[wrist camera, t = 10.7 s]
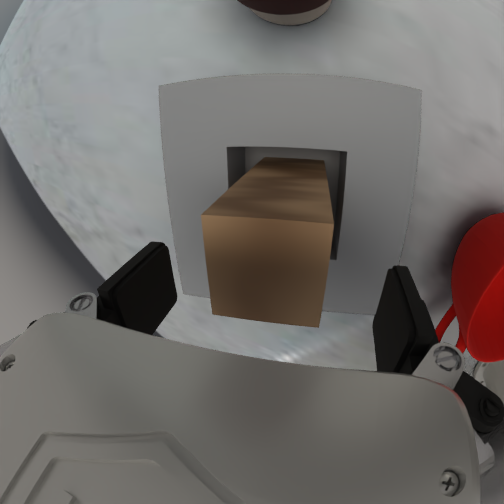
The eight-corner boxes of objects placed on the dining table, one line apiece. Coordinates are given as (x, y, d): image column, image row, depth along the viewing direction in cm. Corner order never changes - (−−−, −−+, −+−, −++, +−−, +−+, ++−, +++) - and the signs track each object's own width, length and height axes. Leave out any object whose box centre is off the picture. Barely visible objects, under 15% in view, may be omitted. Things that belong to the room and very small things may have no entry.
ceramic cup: (382, 284, 26) (399, 358, 18) (487, 164, 18) (552, 198, 9) (442, 335, 27) (462, 398, 19) (532, 242, 19) (577, 290, 10)
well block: (398, 94, 18) (421, 89, 13) (374, 280, 26) (383, 315, 21) (189, 89, 21) (158, 85, 16) (204, 264, 30) (183, 294, 25)
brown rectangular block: (323, 160, 22) (333, 224, 10) (320, 215, 24) (318, 327, 12) (264, 157, 23) (200, 214, 11) (264, 211, 25) (212, 314, 13)
